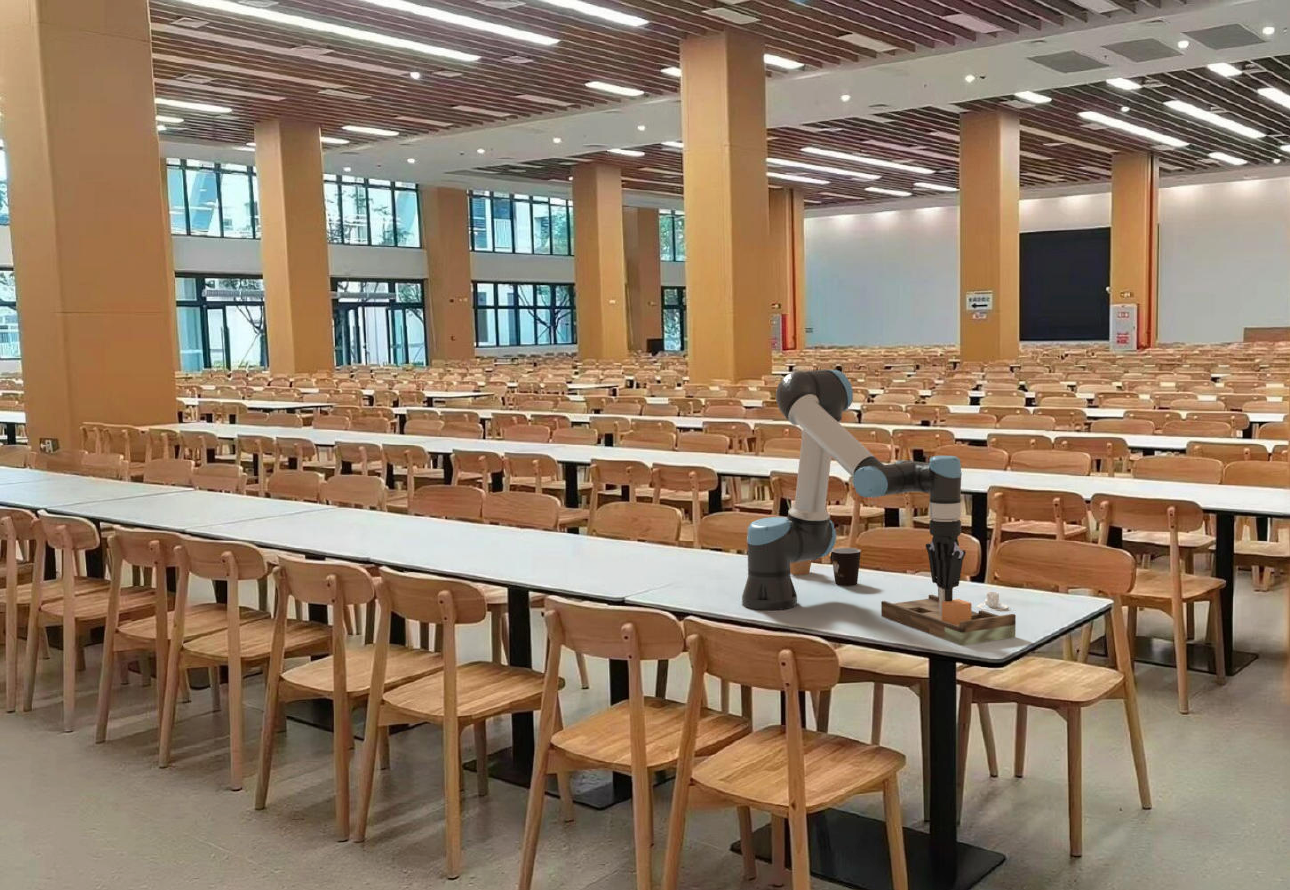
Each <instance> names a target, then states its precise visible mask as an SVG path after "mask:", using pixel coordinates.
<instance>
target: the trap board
mask: <svg viewBox="0 0 1290 890" xmlns="http://www.w3.org/2000/svg"><path fill="white" fill-rule="evenodd" d="M880 604H881V605H880V606H881V609H880V611H881V617H882V618H885V619H888V620H890V621H894V622H897V623H899V624H902V625H905V626H907V627H911V628H913V629H915V630H918V631H921V632H923V633H927V634H928V635H929V634H930V635H933V636H934V637H937V638H941V639H943V640H946V641H949V642H952V643H953V644H954V643H955V644H957V645H961V646H965V645H966V646H967V645H972V644H973V645H974V644H979V643H986V642H992V641H993V642H994V641H998V640H1004V639H1005V640H1006V639H1011V638H1016V630H1017V629H1016V617H1017V616H1016V614H1015V613H1010V614H1004V615H1002V614H1001V615H998V614H995V613H992V612H988V611H985V610H983V609H981V610H978V612H976V611H973V610H971V620H967V621H960V622H959V625H954V624H951V623H948V622H945V621H942V614H939V598H938V595H933V594H928V598H924V599H917V600H916V599H915V600H909V601H902V602H894V603H892V602H889V601H885V600H881V602H880Z"/></svg>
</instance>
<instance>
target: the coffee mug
mask: <svg viewBox="0 0 1290 890" xmlns="http://www.w3.org/2000/svg"><path fill="white" fill-rule="evenodd" d="M861 551H862V550H861V549H859V548H853V547H838V548H833V549H832V551H831V552H830V556H829V557H830V561H831V563H832V569H833V570H832V571H833V576H834V577H833V578H834V584H835V585H836V586H837V587H838V586H840V587H853V586H857V585H858V581H859V580H858V579H859V571H860V569H859V568H860V563H861V562H860V561H861Z"/></svg>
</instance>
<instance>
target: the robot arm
mask: <svg viewBox="0 0 1290 890" xmlns="http://www.w3.org/2000/svg"><path fill="white" fill-rule="evenodd" d="M853 390H854V389H853V387H852V384H851V380H849V378H848V377H847V375H846V374H845V373H843V372H842V371H840V370H837V369H827V368H825V369H823V368H822V369H817V370H816V369H815V370H798V371H797V370H796V371H792V372H790V373H788V374H786V375H785V376H783V378H782V379H781V380H780V381H779V383H778V385H777V388H776V391H775V402H776V405H777V407H778V409H779V411H780V412H781V414H782V415H783V416H784V418H785V419H786V420H787V421H788V422H789V423H791V425H793V426H799V427H800V428H801V429H802V435H801V443H800V452H799V460H798V461H799V463H798V469H797V470H798V471H797V480H796V489H795V499H794V505H793V506H791V509H789V508H788V510H787V511H788V512H787V517H788V519H787V517H783V516H782V517H781V516H772V517H764V518H760V519H757V520H754V521H752V522H751V523H749V525H748V528H747V536H746V542H747V543H746V544H747V579H746V582H745V585H744V589H743V592H742V596H741V604H742V606H744V607H745V608H748V609H752V610H753V609H754V610H762V611H763V610H766V611H769V610H770V611H771V610H772V611H773V610H775V611H776V610H785V609H790V608H794V607H796V606H797V605H798V594H797V591H796V589H795V586H794V583H793V580H792V576H791V573H790V563H794V562H801V561H807V560H812V561H815V560H818V559H820V558H823V557H826V556H828V555H829V554H831V551H832V549H834V547H835V545H836V540H837V529H836V528H835V524H834V522H833V521H832V520H831V519H830V518H831V515H830V514H829V512H828V511H827V510H826V507H827V506H826V504H827V496H828V489H829V488H828V487H829V479H830V472H831V471H830V470H831V462H832V459H834V461H836V462H837V464H839V465H840V466H841V467H842V468H843V469H844V471H846V472H847V474H849V475H850V476H851V477H852V487H854V490H855V493H857V494H858V496H860V497H863V498H879V497H884V496H891V495H899V494H906V493H912V492H913V493H914V492H915V493H926V494H929V507H928V509H929V510H928V511H929V512H928V513H929V517H930V520H929V534H930V535H932V538H931V542H930V543H926V544H925V548H926V549H925V550H926V551H927V555H928V556H927V557H928V562H929V568H930V575H931V581H932V583H933V584H936V587H937V593H938V594H937V596H938V598H939V614H942V601H947V602H948V601H952V600H954V599H953V592H954V591H953V589H954V588H956V587H957V588H958V587H959V585H960V579H961V573H962V567H963V562H964V559H965V556H966V553H967V551H966V550H965V549H961V548H960V547H959V546H960V545H959V539H958V538H959V536H960V535H961V534H962V521H961V517H962V507H961V506H962V505H961V504H962V503H961V502H962V497H961V496H962V495H961V494H962V489H961V488H962V476H963V475H962V465H961V459H960V458H959V457H957V456H955V455H935V456H934V455H933V456H932V457H929V462H923V461H914V460H898V461H896V462H895V463H889V464H884V463H883V462H881V461H880V460H879V459H878V458H877V457H876V456H875V455H874V454H873V453H872V452H870V450H868V448H867V447H866V446H864V445H863V444H862V443H861V442H860V441H859V440H858V439H856V437H855V436H853V435H852V434H851V432H850V431H848V430H847V429H846V428H845V427H844V426H843V425H842V424H840V423H841V421H842V418H843V417H842V415H843V413H844V412H845V411H846V410H848V409H849V407H851V406H852V403H853V399H854V391H853Z"/></svg>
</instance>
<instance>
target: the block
mask: <svg viewBox="0 0 1290 890" xmlns="http://www.w3.org/2000/svg"><path fill="white" fill-rule="evenodd" d="M971 611H972V602H970V601H967V600H962V599H959V598H956V599H952V601H948V602H947V601H942V621H945V622H948V623H951V624H954V625H959V622H960V621H967V620H971Z"/></svg>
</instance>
